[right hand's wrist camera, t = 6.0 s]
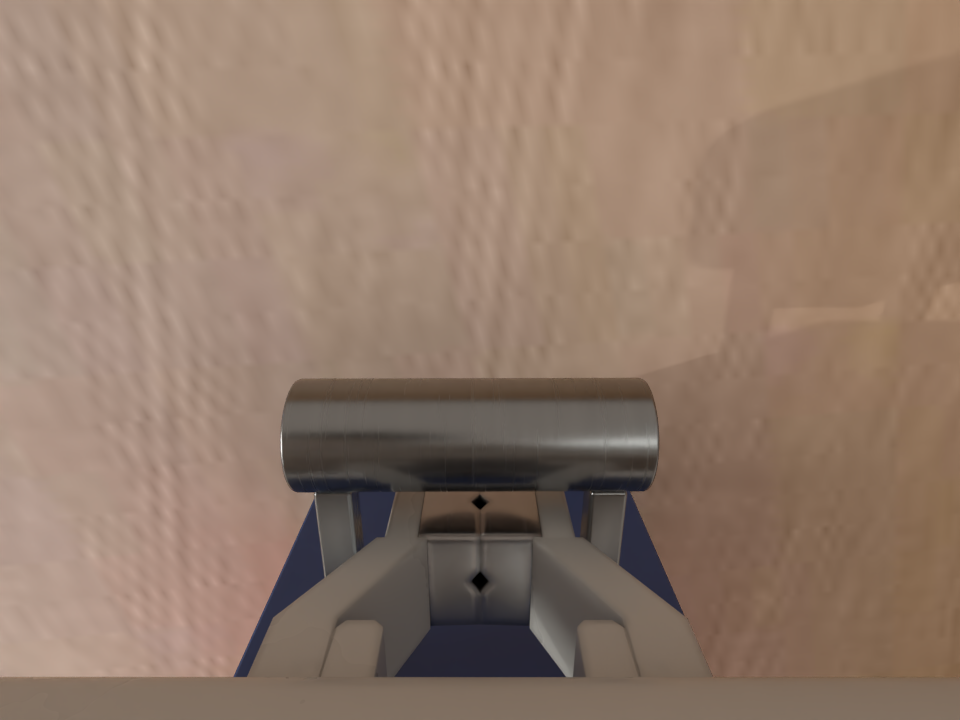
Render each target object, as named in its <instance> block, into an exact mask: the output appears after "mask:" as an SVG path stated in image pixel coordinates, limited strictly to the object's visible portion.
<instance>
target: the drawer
mask: <svg viewBox="0 0 960 720" xmlns="http://www.w3.org/2000/svg"><path fill="white" fill-rule="evenodd" d="M280 450H281V461H282V468H283V472H284V476H285V479H286V482H287V484H288V486H289V487H290V489H292V490H293V491H295V492H315V493H314V501H313V503H312V505H311V507H310V509H309V512H308V514H307V516H306V518H305V520H304V523H303V525H302V527H301V529H300V531H299V534H298V536H297V538H296V540H295V542H294V545H293V547H292V549H291V551H290V553H289V556H288V558H287V560H286V562H285V564H284V567H283V569H282V571H281V573H280V575H279V578H278V580H277V582H276V584H275V586H274V589H273V591H272V593H271V595H270V597H269V600H268V602H267V604H266V606H265V609H264V611H263V613H262V615H261V617H260V620H259V622H258V624H257V626H256V628H255V631H254V633H253V635H252V637H251V639H250V642H249V644H248V646H247V648H246V650H245V653H244V655H243V657H242V659H241V661H240V664H239V666H238V668H237V670H236V672H235V675H234V677H247V676H248V673H249V671H250V669H251V667H252V664H253V662H254V660H255V658H256V655H257V653H258V651H259V649H260V646H261V644H262V642H263V639H264V637H265V635H266V633H267V630H268V628H269V626H270V624H271V621H272V619H273V617H275V616H276V615H277V614H278V613H280V612H281V611H282V610H284V609H285V608H286V607H287V606H289V605H290V604H291V603H293V602H294V601H295V600H297V599H298V598H299V597H300V596H302V595H303V594H304V593H306V592H307V591H308V590H309V589H311V588H312V587H313V586H315V585H316V584H317V583H318V582H320V581H321V580H322V579H324V578H325V577H326V576H328V575H329V574H330V573H331V572H333V571H334V570H335V569H337V568H338V567H339V566H340V565H342V564H343V563H344V562H346V561H347V560H348V559H349V558H351V557H352V556H353V555H355V554H356V553H357V552H359V551H360V550H361V549H362V548H364V547H365V546H366V545H368V544H369V543H370V542H371V541H373V540H374V539H375V538H377V537H385V534H386V530H387V526H388V522H389V518H390V513H391V509H392V505H393V501H394V497H395V493H396V492H537V491H564V493H565V498H566V502H567V506H568V510H569V514H570V518H571V522H572V526H573V530H574V534H575V537H583V538H585V539H586V540H587V541H589V542H590V543H591V544H592V545H594V546H595V547H596V548H598V549H599V550H600V551H601V552H603V553H604V554H605V555H607V556H608V557H609V558H610V559H612V560H613V561H614V562H616V563H617V564H618V565H619V566H621V567H622V568H623V569H625V570H626V571H627V572H628V573H630V574H631V575H632V576H634V577H635V578H636V579H637V580H639V581H640V582H641V583H643V584H644V585H645V586H646V587H648V588H649V589H650V590H652V591H653V592H654V593H655V594H657V595H658V596H659V597H661V598H662V599H663V600H664V601H666V602H667V603H668V604H670V605H671V606H672V607H673V608H675V609H676V610H677V611H679V612H680V613H681V614H682V615H684V614H683V612H682V609H681V607H680V605H679V602H678V600H677V598H676V596H675V593H674V591H673V589H672V586H671V584H670V582H669V580H668V577H667V575H666V573H665V570H664V568H663V566H662V564H661V561H660V559H659V557H658V555H657V552H656V550H655V548H654V545H653V543H652V541H651V539H650V536H649V534H648V532H647V529H646V527H645V525H644V523H643V520H642V518H641V516H640V514H639V511H638V509H637V507H636V504H635V502H634V500H633V498H632V495H631V493H630V491H645V490H647V489H649V488H650V487H651V485H652V483H653V481H654V478H655V475H656V470H657V465H658V457H659V426H658V417H657V411H656V406H655V402H654V398H653V395H652V392H651V390H650V388H649V386H648V384H647V383H646V382H645V381H644V380H643V379H640V378H421V379H300V380H297V381H296V382H295V383H294V384H293V385H292V387H291V389H290V391H289V393H288V396H287V398H286V402H285V406H284V410H283V415H282V422H281V434H280ZM394 677H566V676H565V675H564V673H563V672H562V671H561V669H560V668H559V667H558V665H557V664H556V663H555V661H554V660H553V659H552V657H551V656H550V655H549V653H548V652H547V651H546V649H545V648H544V647H543V645H542V644H541V643H540V641H539V640H538V639H537V637H536V636H535V635H534V633H533V632H532V631H531V629H530V626H514V625H445V626H430V630H429V631H428V633H427V634H426V635H425V637H424V638H423V639H422V641H421V642H420V643H419V645H418V646H417V647H416V649H415V650H414V651H413V653H412V654H411V655H410V657H409V658H408V659H407V661H406V662H405V663H404V665H403V666H402V667H401V669H400V670H399V671H398V673H397V674H396V675H395V676H394Z"/></svg>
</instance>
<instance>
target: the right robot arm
mask: <svg viewBox="0 0 960 720" xmlns="http://www.w3.org/2000/svg"><path fill="white" fill-rule="evenodd" d="M445 625H514V626H530V629H531V631H532V632H533V633H534V635H535V636H536V637H537V639H538V640H539V641H540V643H541V644H542V645H543V647H544V648H545V649H546V651H547V652H548V653H549V655H550V656H551V657H552V659H553V660H554V661H555V663H556V664H557V665H558V667H559V668H560V669H561V671H562V672H563V673H564V675H565V676H566V677H394V676H395V675H396V674H397V673H398V671H399V670H400V669H401V667H402V666H403V665H404V663H405V662H406V661H407V659H408V658H409V657H410V655H411V654H412V653H413V651H414V650H415V649H416V647H417V646H418V645H419V643H420V642H421V641H422V639H423V638H424V637H425V635H426V634H427V633H428V631H429V630H430V626H445ZM0 720H960V677H713V676H712V673H711V671H710V669H709V667H708V664H707V662H706V660H705V657H704V655H703V653H702V651H701V648H700V646H699V644H698V641H697V639H696V637H695V634H694V632H693V630H692V628H691V625H690V623H689V621H688V618H686V617H685V616H684V615H682V614H681V613H680V612H679V611H677V610H676V609H675V608H673V607H672V606H671V605H670V604H668V603H667V602H666V601H664V600H663V599H662V598H661V597H659V596H658V595H657V594H655V593H654V592H653V591H652V590H650V589H649V588H648V587H646V586H645V585H644V584H643V583H641V582H640V581H639V580H637V579H636V578H635V577H634V576H632V575H631V574H630V573H628V572H627V571H626V570H625V569H623V568H622V567H621V566H619V565H618V564H617V563H616V562H614V561H613V560H612V559H610V558H609V557H608V556H607V555H605V554H604V553H603V552H601V551H600V550H599V549H598V548H596V547H595V546H594V545H592V544H591V543H590V542H589V541H587V540H586V539H585V538H583V537H575V534H574V530H573V526H572V522H571V518H570V514H569V510H568V506H567V502H566V498H565V493H564V491H537V492H396V493H395V497H394V501H393V505H392V509H391V513H390V518H389V522H388V526H387V530H386V534H385V537H377V538H375V539H374V540H373V541H371V542H370V543H369V544H368V545H366V546H365V547H364V548H362V549H361V550H360V551H359V552H357V553H356V554H355V555H353V556H352V557H351V558H349V559H348V560H347V561H346V562H344V563H343V564H342V565H340V566H339V567H338V568H337V569H335V570H334V571H333V572H331V573H330V574H329V575H328V576H326V577H325V578H324V579H322V580H321V581H320V582H318V583H317V584H316V585H315V586H313V587H312V588H311V589H309V590H308V591H307V592H306V593H304V594H303V595H302V596H300V597H299V598H298V599H297V600H295V601H294V602H293V603H291V604H290V605H289V606H287V607H286V608H285V609H284V610H282V611H281V612H280V613H278V614H277V615H276V616H275V617H273V619H272V621H271V624H270V626H269V628H268V630H267V633H266V635H265V637H264V639H263V642H262V644H261V646H260V649H259V651H258V653H257V655H256V658H255V660H254V662H253V664H252V667H251V669H250V671H249V673H248V676H247V677H0Z"/></svg>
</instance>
